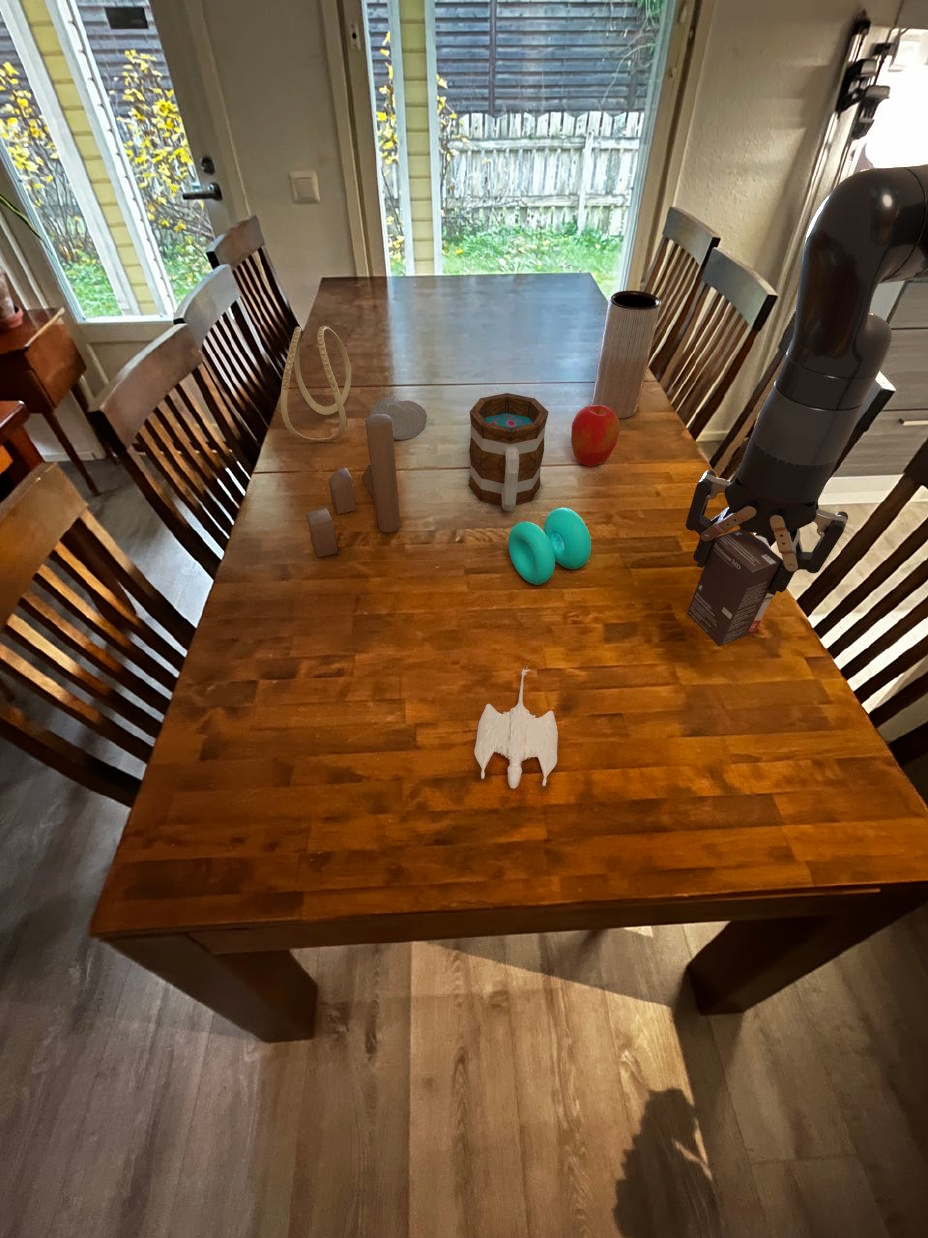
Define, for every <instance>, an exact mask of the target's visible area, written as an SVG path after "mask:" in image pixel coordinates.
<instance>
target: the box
mask: <svg viewBox="0 0 928 1238" xmlns="http://www.w3.org/2000/svg"><path fill="white" fill-rule="evenodd" d="M755 536H756V535H754V533H752V532H746V531H743V530H740V528H739V529H736V530H733V531H728V532H726V533H724V534H723V533H722V534H720V535H719V536H717V537H716V538H715V539H714V542H713V545H712V547H711V550H710V553H709V555H708V558H707V561H706V563H705V566H704V567H703V569H702V572H701V574H700V576H699V579H698V581H697V585H696V587H695V590H694V593H693V596H692V598H691V600H690V604H689V606H688V609H687V612H686V615H687V616H688V617H689V618H690V619H691V620H692V621H693V622H694V623H696V624H697V625H698V627H699V629H701V630H702V631H703V632H704V633H705V634H706V635H707V636H708V637H709V638H710V639H711V641H713V642H714V644H715V646H717V647H722V646H725V645H728V644H731V643H733V642H735V641H739V640H741V639H743V638H745V637H747V636H748V634H749V633H748V632H749V630H750V628H751V626H752V624H753V622H754V619H755V617H756V615H757V613H758V611H759V609H760V607H761V605H762V603H763V601H764V599H765V597H766V595H767V593H768V591H769V589H770V587H771V585H772V583H773V581H774V579H775V577H776V575H777V573H778V571H779V569H780V567H781V565H782V564H783V558H782V557H780V555H778V554H777V553H775V552H774V551H773V550H772V549H771V550H770V548H771V547H770V548H769V547H768V546H767V545H766V544H765V543H764V542H763V541H762V540H760V539H758V538H756V537H755Z"/></svg>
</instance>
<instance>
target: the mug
mask: <svg viewBox="0 0 928 1238" xmlns="http://www.w3.org/2000/svg"><path fill="white" fill-rule="evenodd" d="M473 405H474V406H472V408H471V409H470V410H469V419H470V427H471V428H470V440H469V447H468V448H469V449H468V453H469V463H470V464H469V465H470V466H469V467H470V468H469V469H470V470H469V479H468V487H469V489H470V490H471V492H472V493H473V494H474V495H475V497H476V498H477V500H478V501H479V502H483V503H487V504H490V505H494V506H499V507H501V508H502V509H503V510H504V511H508V512H509V511H510V512H511V511H513V510H515V509H516V506H518V505H522V504H527V503H530V502H532V501H533V500H534V498H535V496H536V495H537V493H538V491H539V490H540V488H541V470H542V462H543V458H544V453H545V433H546V424H547V420H548V416H549V410H547V409H546V407H544V406H543V405H542V404H541V403H540V401H538V400H537V399H536V398H535V397H531V396H525V395H520V394H515V393H509V392H505V393H500V394H499V393H498V394H493V395H489V396H484V397H480V398H479V399H478V400H477V402H476V403H475V404H473Z"/></svg>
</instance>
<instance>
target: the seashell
mask: <svg viewBox="0 0 928 1238" xmlns="http://www.w3.org/2000/svg"><path fill="white" fill-rule="evenodd" d="M373 414H386V415H388V416H390V417H391V419H392V427H393V440H394V441H405V440H410V439H412V438H414V437H417V435H419V434H420V433H421V432H422V431H423V429H424V428H425V427H426V425H427V421H428V420H427V419H428V414H427V411H426V409H425V408H424V407H423V406H422V405H420V404H418V403H417V402H415V401H412V400H403V399H399V398H395V397H392V396H390V397H384V398H381V399H378V400H377V401H376V402H375V403H374V404H373V405H372V407H371V408H370V410H369V416H370V415H373Z"/></svg>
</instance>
